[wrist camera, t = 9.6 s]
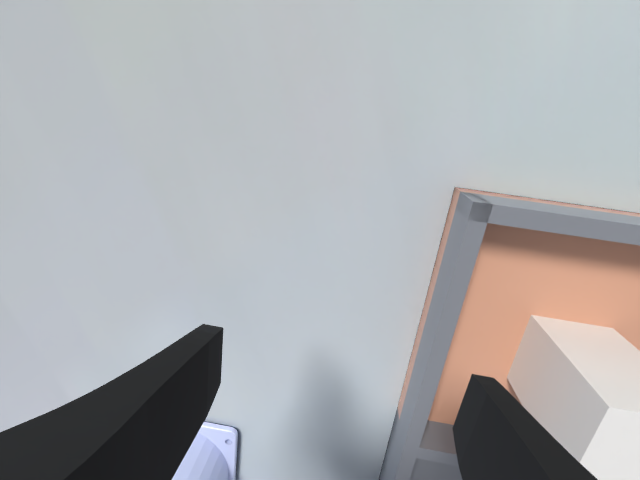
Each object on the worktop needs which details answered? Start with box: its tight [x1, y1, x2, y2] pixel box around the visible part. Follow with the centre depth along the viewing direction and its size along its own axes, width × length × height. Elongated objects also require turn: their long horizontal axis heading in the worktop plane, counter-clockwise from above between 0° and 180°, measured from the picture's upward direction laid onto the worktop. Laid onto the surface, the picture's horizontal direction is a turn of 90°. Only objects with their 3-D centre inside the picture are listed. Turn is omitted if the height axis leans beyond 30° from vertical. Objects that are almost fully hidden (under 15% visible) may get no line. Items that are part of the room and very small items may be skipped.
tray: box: [379, 187, 640, 480], centre depth 20 cm, size 28×14×3 cm, turn 173°
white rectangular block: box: [507, 315, 640, 480], centre depth 16 cm, size 4×4×6 cm
